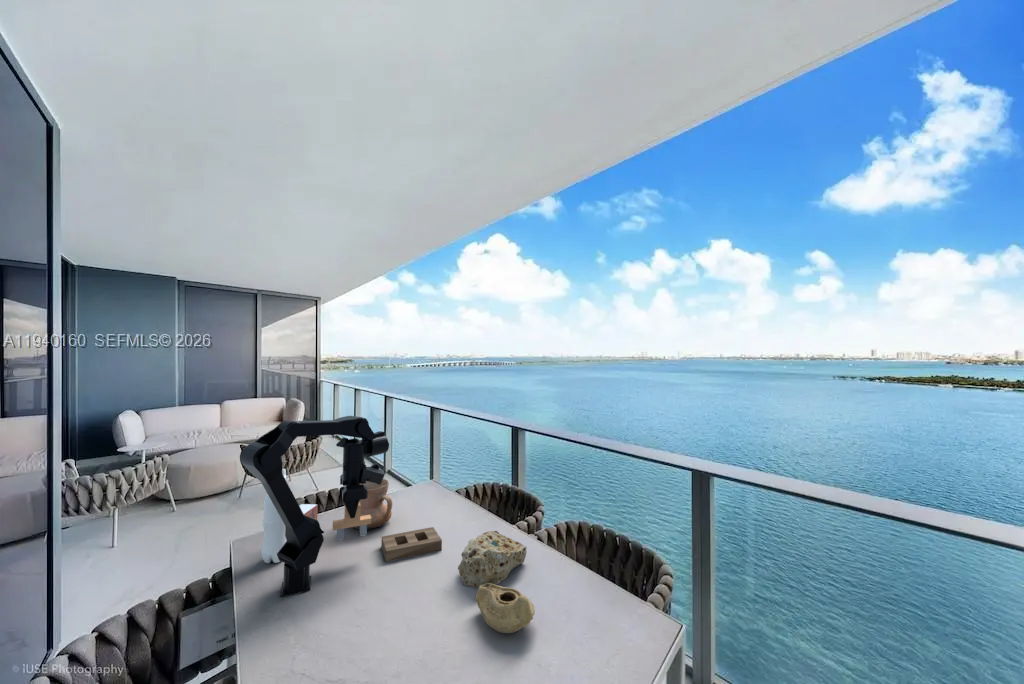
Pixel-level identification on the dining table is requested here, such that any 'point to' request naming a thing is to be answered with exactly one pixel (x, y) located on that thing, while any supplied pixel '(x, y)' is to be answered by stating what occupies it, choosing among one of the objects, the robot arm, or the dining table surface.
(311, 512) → the small box
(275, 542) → the water bottle
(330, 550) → the dining table surface
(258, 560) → the dining table surface
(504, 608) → the oil lamp
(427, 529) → the brown slotted block
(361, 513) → the ceramic jug
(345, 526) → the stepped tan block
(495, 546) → the rock
